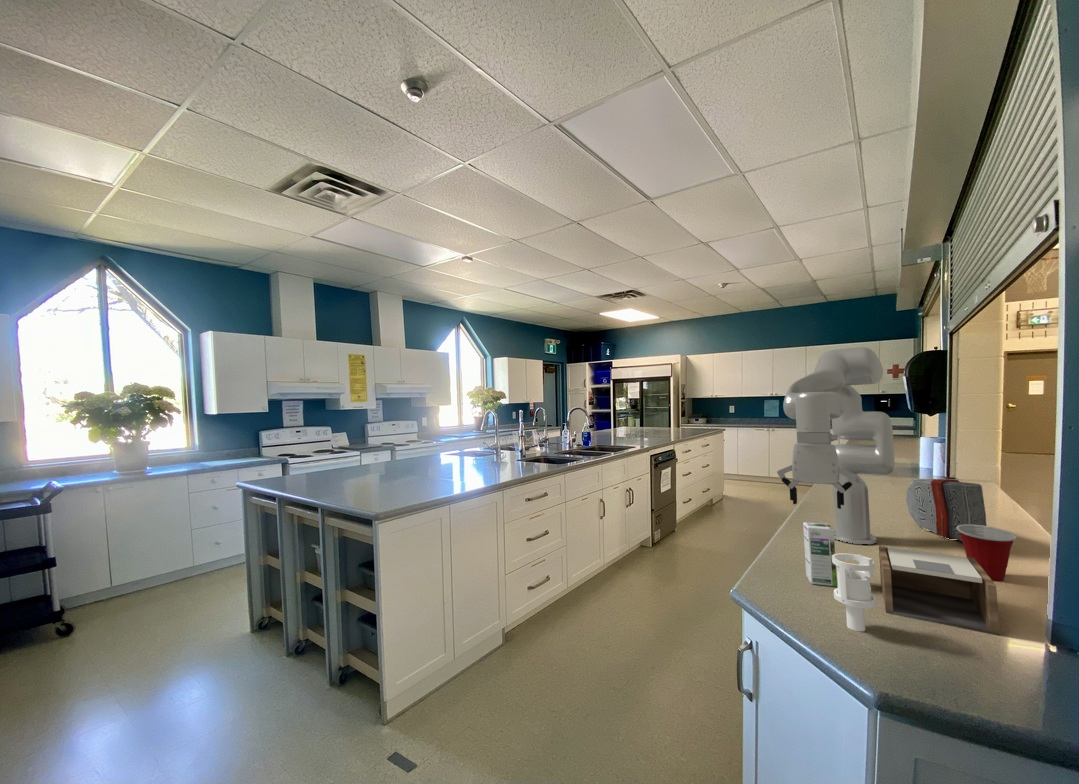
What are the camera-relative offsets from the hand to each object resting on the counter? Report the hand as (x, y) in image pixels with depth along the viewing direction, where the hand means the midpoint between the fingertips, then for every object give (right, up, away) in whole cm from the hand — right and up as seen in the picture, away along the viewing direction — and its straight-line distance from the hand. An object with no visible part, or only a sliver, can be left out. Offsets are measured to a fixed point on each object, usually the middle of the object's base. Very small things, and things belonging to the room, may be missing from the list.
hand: (816, 505), depth 110 cm
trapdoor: (+16, -10, -15) cm, 24 cm away
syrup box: (+1, -20, 0) cm, 20 cm away
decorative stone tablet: (+65, -19, +33) cm, 75 cm away
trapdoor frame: (+16, -19, -15) cm, 29 cm away
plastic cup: (+44, -19, -1) cm, 48 cm away
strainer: (-7, -19, -23) cm, 31 cm away
